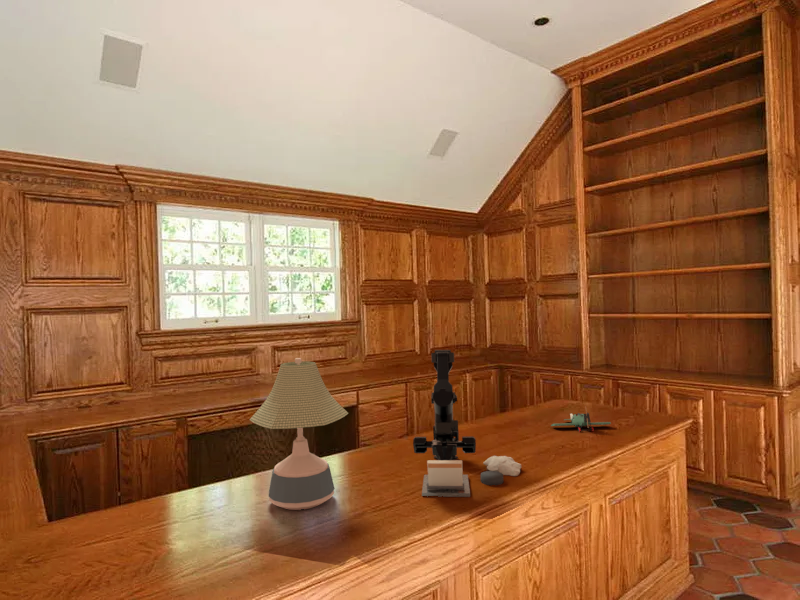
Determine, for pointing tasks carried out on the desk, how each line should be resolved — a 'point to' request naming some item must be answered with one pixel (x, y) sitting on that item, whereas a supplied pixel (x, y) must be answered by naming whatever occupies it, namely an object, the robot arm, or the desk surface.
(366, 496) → the desk surface
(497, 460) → the decorative stone
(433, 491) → the grey flat slab
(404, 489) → the desk surface
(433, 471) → the bowl
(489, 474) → the grey river pebble
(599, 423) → the toy airplane
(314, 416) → the desk lamp
